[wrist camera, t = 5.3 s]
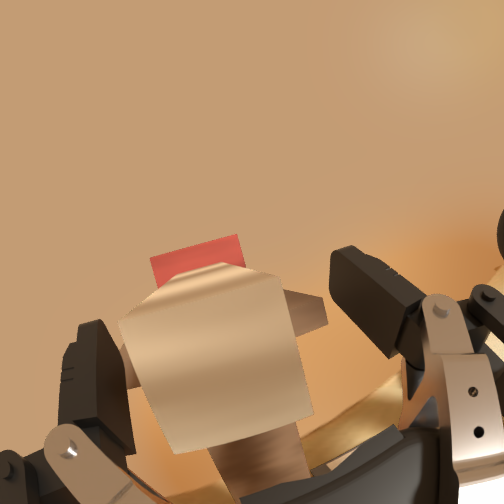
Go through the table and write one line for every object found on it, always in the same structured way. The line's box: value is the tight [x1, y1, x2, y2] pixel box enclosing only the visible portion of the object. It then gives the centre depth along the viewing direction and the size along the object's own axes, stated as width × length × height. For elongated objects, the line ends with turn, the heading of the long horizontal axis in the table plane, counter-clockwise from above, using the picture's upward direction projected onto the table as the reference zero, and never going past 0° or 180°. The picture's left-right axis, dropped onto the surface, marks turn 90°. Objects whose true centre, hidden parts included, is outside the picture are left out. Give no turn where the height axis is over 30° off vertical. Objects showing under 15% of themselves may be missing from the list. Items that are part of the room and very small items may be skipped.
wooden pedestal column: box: [119, 289, 328, 504], centre depth 19 cm, size 11×11×32 cm
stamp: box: [117, 234, 314, 454], centre depth 14 cm, size 19×6×4 cm, turn 10°
